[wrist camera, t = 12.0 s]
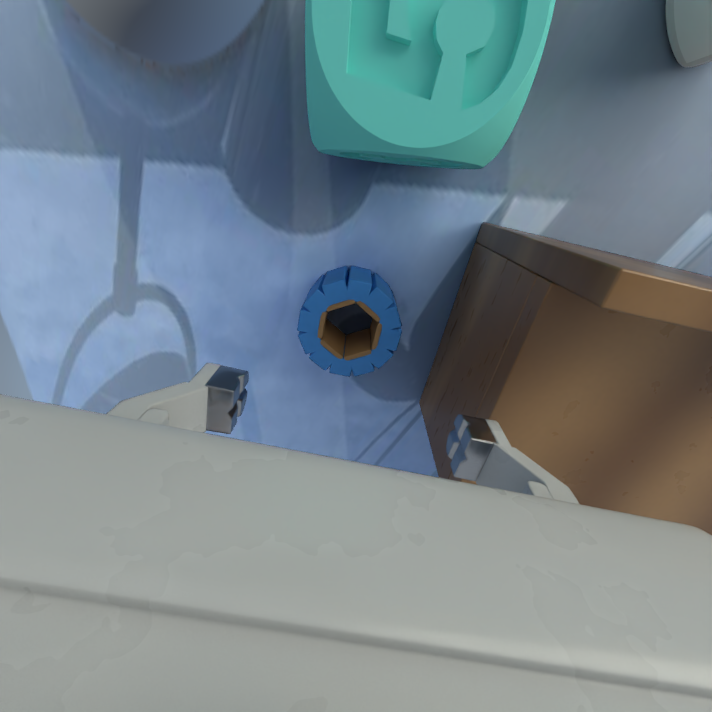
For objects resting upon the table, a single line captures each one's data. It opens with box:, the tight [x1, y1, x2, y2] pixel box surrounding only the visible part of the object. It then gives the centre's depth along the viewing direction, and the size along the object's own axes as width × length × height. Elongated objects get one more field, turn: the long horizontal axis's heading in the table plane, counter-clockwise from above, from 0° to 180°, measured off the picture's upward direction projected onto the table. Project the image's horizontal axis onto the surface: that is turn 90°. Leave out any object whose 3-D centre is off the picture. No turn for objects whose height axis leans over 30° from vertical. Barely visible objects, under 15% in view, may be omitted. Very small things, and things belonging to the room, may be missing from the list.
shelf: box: [419, 222, 712, 535], centre depth 19 cm, size 15×13×13 cm
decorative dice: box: [305, 0, 556, 169], centre depth 15 cm, size 8×8×8 cm
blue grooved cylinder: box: [297, 266, 402, 377], centre depth 23 cm, size 6×6×4 cm
